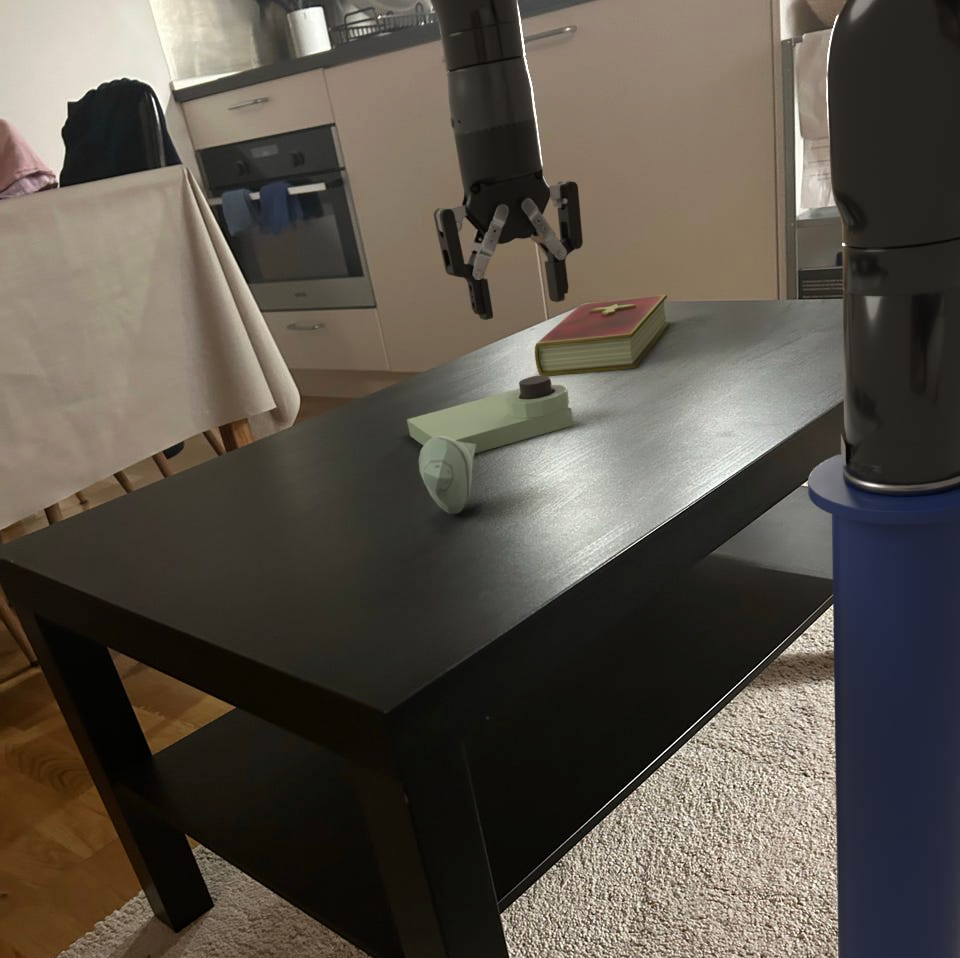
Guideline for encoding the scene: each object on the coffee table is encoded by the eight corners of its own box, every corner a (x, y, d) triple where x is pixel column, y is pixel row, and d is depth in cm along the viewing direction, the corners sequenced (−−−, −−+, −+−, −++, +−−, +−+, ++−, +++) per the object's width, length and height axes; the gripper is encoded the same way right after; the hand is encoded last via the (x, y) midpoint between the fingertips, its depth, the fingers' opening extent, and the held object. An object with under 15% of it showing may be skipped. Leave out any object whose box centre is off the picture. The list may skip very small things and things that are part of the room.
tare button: (545, 390, 105) (542, 373, 104) (557, 395, 102) (555, 378, 101) (516, 398, 104) (514, 381, 103) (528, 403, 101) (526, 386, 100)
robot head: (457, 532, 83) (441, 452, 79) (412, 532, 84) (395, 454, 81) (493, 495, 89) (479, 420, 86) (450, 496, 91) (436, 422, 87)
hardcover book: (537, 376, 123) (532, 341, 121) (582, 333, 140) (578, 301, 138) (635, 368, 118) (631, 331, 116) (669, 324, 135) (666, 291, 133)
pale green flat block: (532, 402, 113) (527, 371, 112) (581, 425, 102) (576, 391, 101) (410, 436, 110) (403, 404, 108) (447, 463, 99) (440, 429, 97)
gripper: (433, 135, 86) (467, 332, 94) (584, 104, 90) (605, 296, 97) (407, 138, 93) (441, 322, 100) (549, 109, 96) (572, 289, 104)
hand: (522, 309), depth 99 cm, fingers open, 7 cm apart
